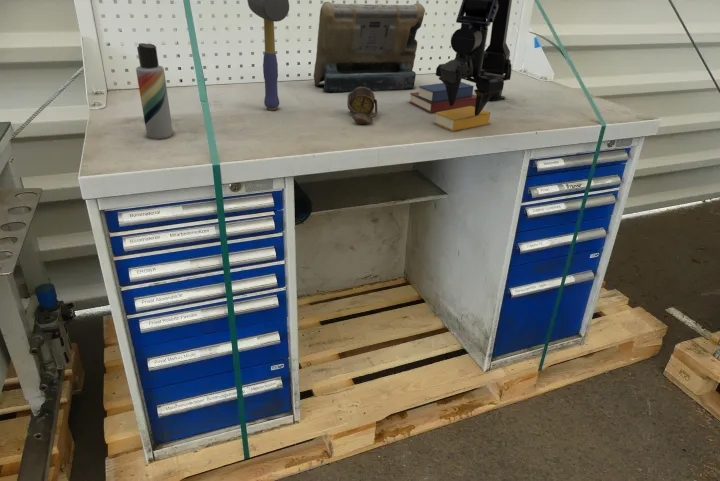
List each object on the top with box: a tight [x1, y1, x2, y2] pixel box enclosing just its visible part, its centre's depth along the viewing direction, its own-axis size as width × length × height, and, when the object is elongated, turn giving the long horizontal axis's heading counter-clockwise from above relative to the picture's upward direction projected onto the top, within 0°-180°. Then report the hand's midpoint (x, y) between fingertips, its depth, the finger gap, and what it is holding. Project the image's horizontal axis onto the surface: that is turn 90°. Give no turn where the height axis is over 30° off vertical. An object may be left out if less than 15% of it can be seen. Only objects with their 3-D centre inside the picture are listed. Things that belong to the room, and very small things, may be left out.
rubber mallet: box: [247, 0, 290, 111], centre depth 134 cm, size 12×8×30 cm, turn 28°
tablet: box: [313, 1, 426, 93], centre depth 160 cm, size 33×14×25 cm, turn 114°
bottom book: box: [409, 91, 477, 114], centre depth 152 cm, size 17×11×3 cm, turn 118°
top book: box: [434, 106, 491, 132], centre depth 138 cm, size 13×7×3 cm, turn 125°
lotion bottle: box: [135, 42, 174, 140], centre depth 116 cm, size 6×6×20 cm
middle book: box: [418, 81, 475, 103], centre depth 150 cm, size 15×6×3 cm, turn 123°
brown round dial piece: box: [346, 87, 378, 125], centre depth 137 cm, size 7×13×10 cm
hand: (463, 110), depth 137 cm, fingers open, 9 cm apart
